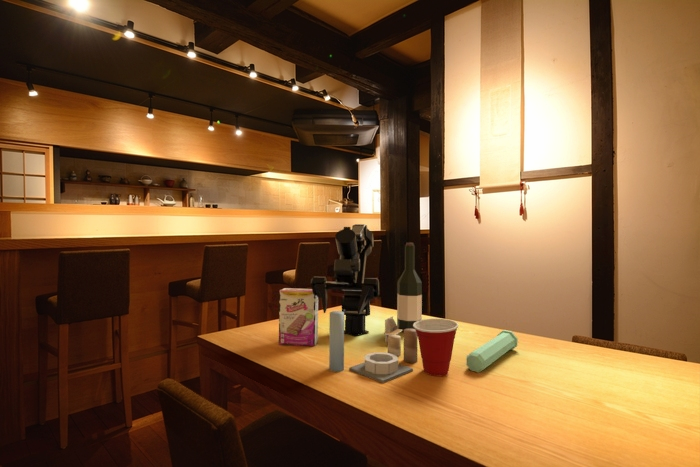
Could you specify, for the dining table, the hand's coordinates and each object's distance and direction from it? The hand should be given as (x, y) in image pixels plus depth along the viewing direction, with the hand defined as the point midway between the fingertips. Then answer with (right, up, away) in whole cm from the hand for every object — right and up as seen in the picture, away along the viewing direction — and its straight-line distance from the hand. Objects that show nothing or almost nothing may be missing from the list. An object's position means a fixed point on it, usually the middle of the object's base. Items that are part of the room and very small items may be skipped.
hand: (341, 312), depth 100 cm
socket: (+10, -13, -7) cm, 17 cm away
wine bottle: (+23, -13, +31) cm, 40 cm away
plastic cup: (+23, -13, -8) cm, 27 cm away
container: (+40, -13, +2) cm, 42 cm away
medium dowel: (+18, -13, 0) cm, 22 cm away
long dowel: (-1, -13, -6) cm, 14 cm away
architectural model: (+15, -13, +18) cm, 27 cm away
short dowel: (+14, -13, +5) cm, 20 cm away
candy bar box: (-13, -13, +15) cm, 23 cm away
